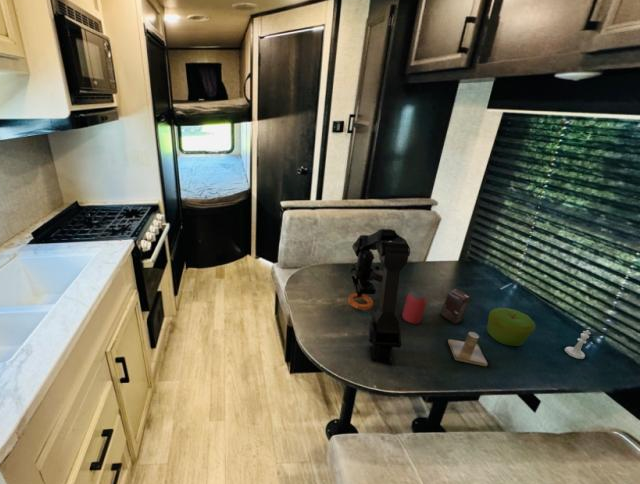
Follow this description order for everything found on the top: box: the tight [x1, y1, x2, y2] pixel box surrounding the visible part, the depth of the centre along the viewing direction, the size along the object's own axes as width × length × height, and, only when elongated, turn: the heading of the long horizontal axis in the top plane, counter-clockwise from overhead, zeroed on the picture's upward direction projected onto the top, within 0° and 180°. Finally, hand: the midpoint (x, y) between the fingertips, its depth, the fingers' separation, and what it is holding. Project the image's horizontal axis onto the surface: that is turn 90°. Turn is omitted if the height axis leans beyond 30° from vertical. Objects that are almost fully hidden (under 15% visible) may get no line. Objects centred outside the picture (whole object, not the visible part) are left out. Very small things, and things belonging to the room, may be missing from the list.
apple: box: [486, 307, 537, 347], centre depth 110 cm, size 12×12×11 cm
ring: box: [347, 292, 374, 311], centre depth 130 cm, size 9×9×2 cm
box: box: [440, 287, 471, 325], centre depth 121 cm, size 6×4×12 cm
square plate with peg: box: [447, 331, 488, 367], centre depth 105 cm, size 9×9×8 cm
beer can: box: [401, 289, 428, 324], centre depth 120 cm, size 7×7×12 cm
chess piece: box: [564, 329, 592, 360], centre depth 104 cm, size 5×5×10 cm
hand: (358, 295), depth 133 cm, fingers closed on ring, 1 cm apart
